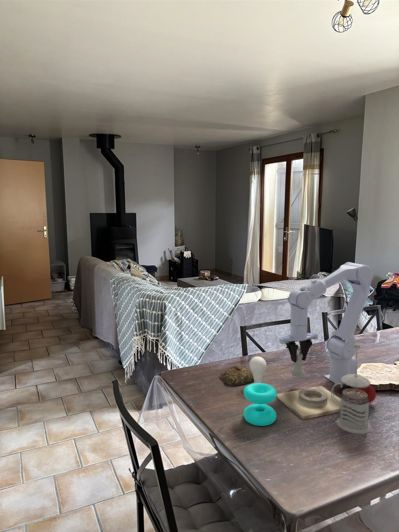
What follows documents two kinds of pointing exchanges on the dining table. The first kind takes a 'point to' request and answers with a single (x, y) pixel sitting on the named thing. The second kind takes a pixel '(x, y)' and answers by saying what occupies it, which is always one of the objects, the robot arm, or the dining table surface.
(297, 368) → the rook chess piece
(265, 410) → the donuts
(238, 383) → the bread roll
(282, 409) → the dining table surface
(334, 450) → the dining table surface
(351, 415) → the french press
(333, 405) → the ring board
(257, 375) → the lightbulb
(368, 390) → the pomegranate
